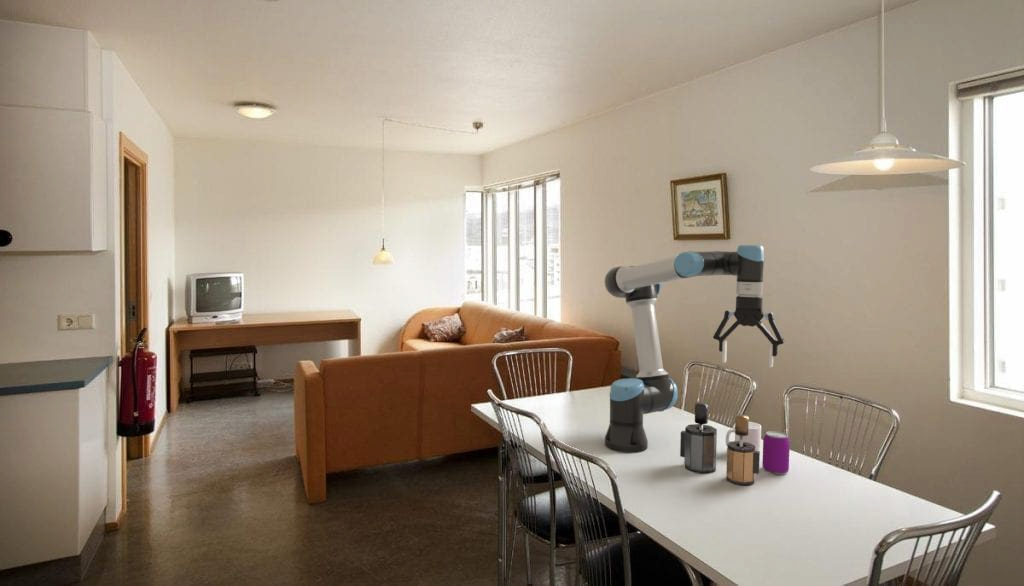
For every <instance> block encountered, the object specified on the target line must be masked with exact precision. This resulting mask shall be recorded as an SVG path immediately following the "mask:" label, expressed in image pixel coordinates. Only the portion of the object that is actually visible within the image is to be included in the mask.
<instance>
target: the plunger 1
mask: <svg viewBox="0 0 1024 586" xmlns="http://www.w3.org/2000/svg"><path fill="white" fill-rule="evenodd" d="M708 421H709V403H707V402H702V401H698V402H695V403H694V424H699V430H703V425H707V424H709V423H708Z"/></svg>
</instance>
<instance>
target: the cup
mask: <svg viewBox="0 0 1024 586" xmlns="http://www.w3.org/2000/svg"><path fill="white" fill-rule="evenodd" d="M732 433H734V441H740V435H736V434H735V428H730V429H728V430H727V432H726V435H725V445H726V446H727V444H728V443H729V442H730V436H731V434H732ZM743 442H748V443H750V444H752V445H754V446H755V451H759V452H760V453H761V447H762V445H761V444H762V425H761V424H760V423H757V422H753V421H749V428H748V435H747V436H743Z"/></svg>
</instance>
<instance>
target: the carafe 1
mask: <svg viewBox="0 0 1024 586" xmlns="http://www.w3.org/2000/svg"><path fill="white" fill-rule="evenodd" d="M717 430H718V428H715V427H714V426H712V425H709V424H708V425H707V424H703V430H699V424H698V423H694V424H688V425H686V426H685V429H684V430H682V431H680V449H679V454H680V455H679V456H680V457H682V458H684V463H683V466H684V468H685V470H687V471H688V472H692V473H695V474H702V475H703V474H705V475H708V474H714V473H715V472H716V470H717V443H718V441H717V438H718V437H717V436H718V431H717Z"/></svg>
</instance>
